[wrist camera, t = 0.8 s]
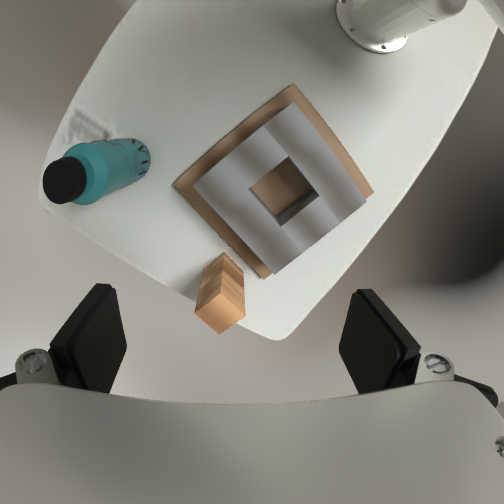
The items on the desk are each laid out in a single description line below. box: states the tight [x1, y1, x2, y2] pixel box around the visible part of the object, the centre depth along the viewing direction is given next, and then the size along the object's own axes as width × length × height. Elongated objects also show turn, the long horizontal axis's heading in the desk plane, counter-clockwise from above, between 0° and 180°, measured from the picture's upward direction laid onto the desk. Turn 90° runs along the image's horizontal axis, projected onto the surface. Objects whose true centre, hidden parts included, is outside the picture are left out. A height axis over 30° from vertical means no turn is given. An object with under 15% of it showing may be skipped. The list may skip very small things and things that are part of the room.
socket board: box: [173, 84, 374, 279], centre depth 37 cm, size 22×20×6 cm
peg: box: [195, 253, 245, 334], centre depth 39 cm, size 4×4×12 cm
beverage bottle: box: [43, 138, 150, 205], centre depth 28 cm, size 6×7×20 cm
